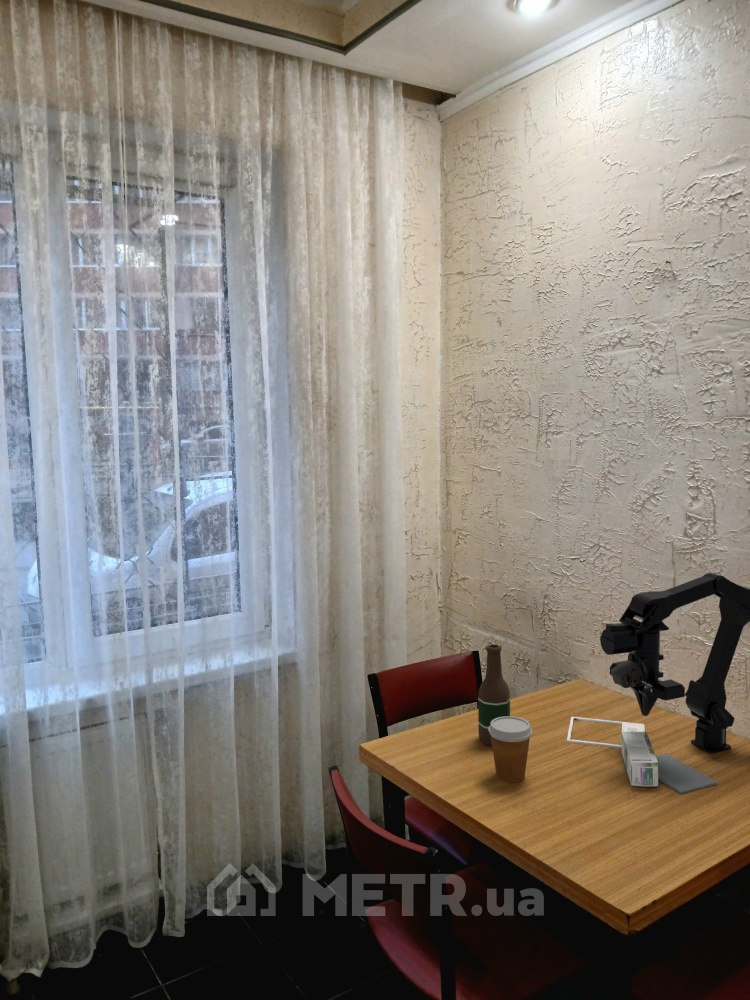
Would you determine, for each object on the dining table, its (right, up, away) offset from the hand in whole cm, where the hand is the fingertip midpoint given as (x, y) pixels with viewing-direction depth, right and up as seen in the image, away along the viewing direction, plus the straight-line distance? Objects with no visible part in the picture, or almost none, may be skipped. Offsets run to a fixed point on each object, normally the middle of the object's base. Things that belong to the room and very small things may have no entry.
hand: (645, 715), depth 174 cm
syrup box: (-2, -7, +1) cm, 7 cm away
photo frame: (-5, -9, +14) cm, 17 cm away
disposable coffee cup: (-32, -12, -6) cm, 35 cm away
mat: (+4, -11, -7) cm, 14 cm away
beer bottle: (-33, -10, +12) cm, 36 cm away
